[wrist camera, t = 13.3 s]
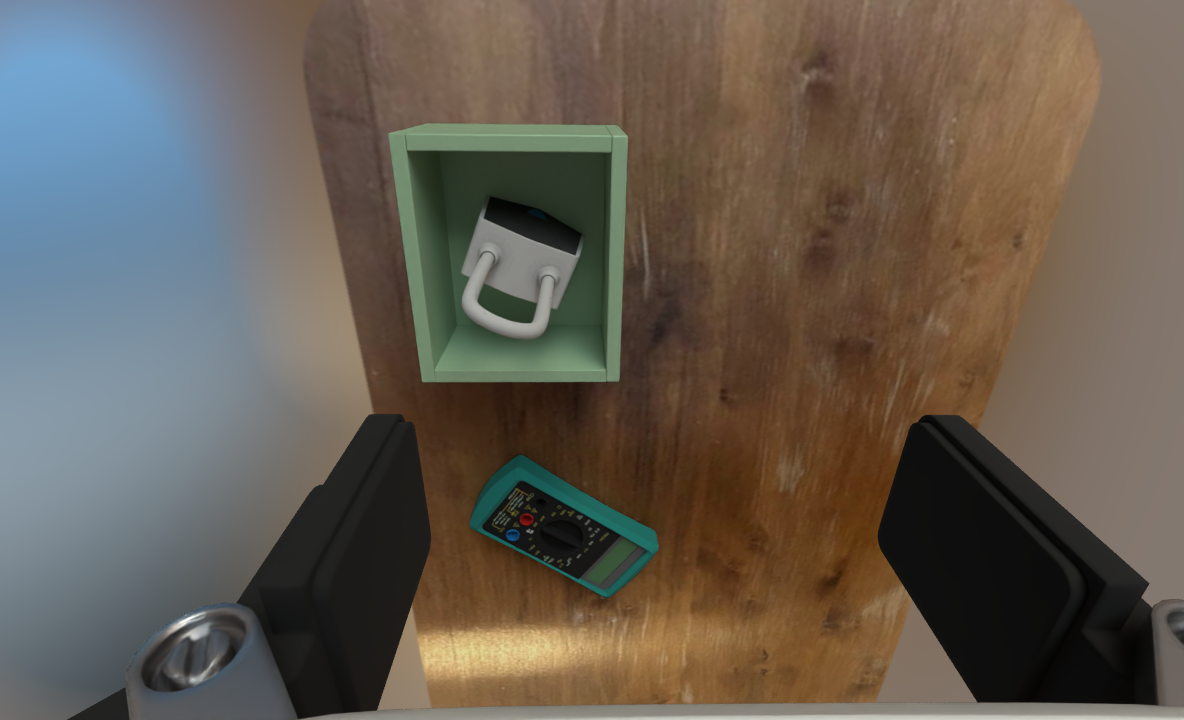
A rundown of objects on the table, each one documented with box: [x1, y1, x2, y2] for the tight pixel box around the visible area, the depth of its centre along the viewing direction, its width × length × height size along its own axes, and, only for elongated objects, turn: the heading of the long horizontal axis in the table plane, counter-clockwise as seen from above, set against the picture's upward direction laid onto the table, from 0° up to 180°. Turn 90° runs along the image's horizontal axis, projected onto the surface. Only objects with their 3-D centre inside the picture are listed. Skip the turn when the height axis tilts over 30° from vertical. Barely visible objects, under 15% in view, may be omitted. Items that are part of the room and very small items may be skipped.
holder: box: [388, 123, 628, 382], centre depth 34 cm, size 12×14×8 cm
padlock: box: [461, 195, 585, 340], centre depth 30 cm, size 7×4×15 cm, turn 67°
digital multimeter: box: [469, 455, 659, 598], centre depth 47 cm, size 7×15×3 cm, turn 53°
